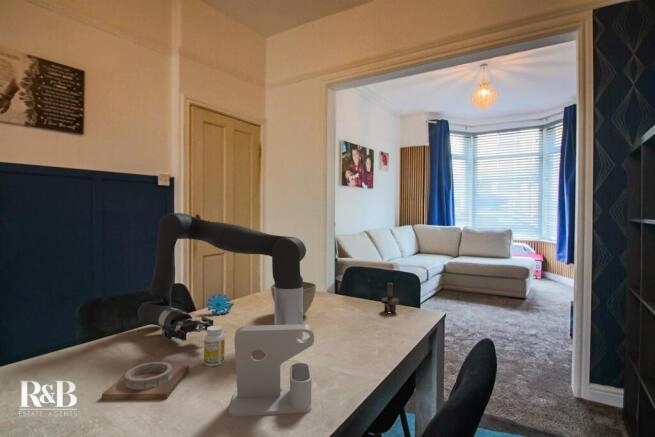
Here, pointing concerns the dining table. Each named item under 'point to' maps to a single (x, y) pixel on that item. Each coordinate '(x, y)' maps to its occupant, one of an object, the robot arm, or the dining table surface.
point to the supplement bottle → (214, 346)
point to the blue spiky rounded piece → (219, 304)
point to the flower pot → (307, 294)
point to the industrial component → (390, 300)
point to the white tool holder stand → (271, 371)
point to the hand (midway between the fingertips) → (199, 333)
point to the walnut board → (146, 393)
